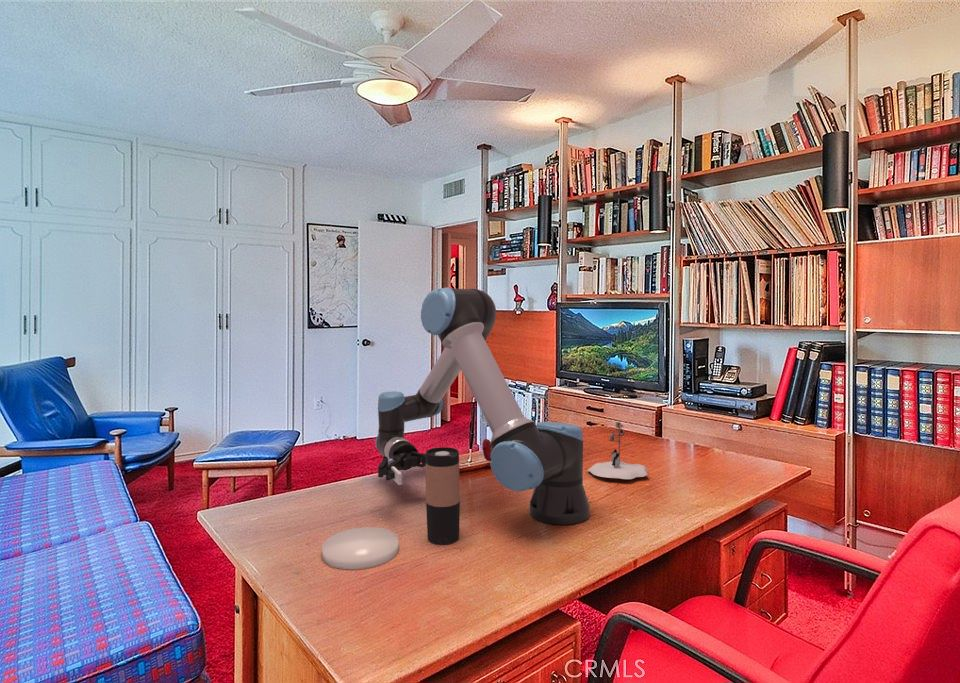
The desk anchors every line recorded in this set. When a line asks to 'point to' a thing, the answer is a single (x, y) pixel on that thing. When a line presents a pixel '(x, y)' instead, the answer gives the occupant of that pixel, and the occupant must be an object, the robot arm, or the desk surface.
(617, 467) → the figurine
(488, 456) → the decorative bird figurine
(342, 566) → the white round disc
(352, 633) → the desk surface
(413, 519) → the desk surface
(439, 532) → the travel mug
